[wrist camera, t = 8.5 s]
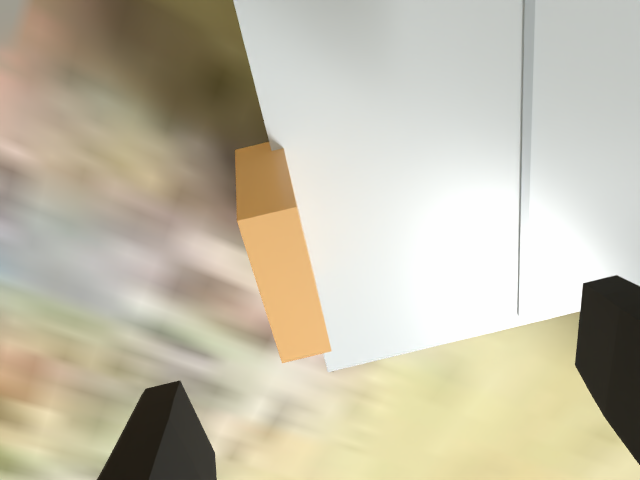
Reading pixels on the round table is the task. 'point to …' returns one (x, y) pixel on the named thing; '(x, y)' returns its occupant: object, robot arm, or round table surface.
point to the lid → (436, 167)
